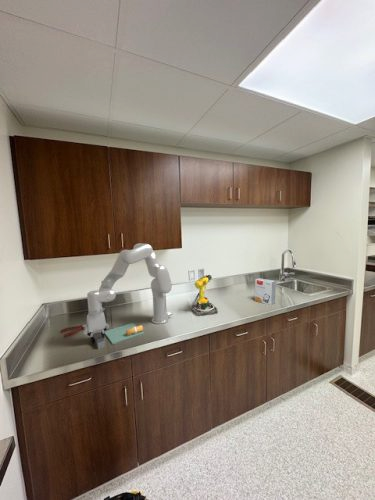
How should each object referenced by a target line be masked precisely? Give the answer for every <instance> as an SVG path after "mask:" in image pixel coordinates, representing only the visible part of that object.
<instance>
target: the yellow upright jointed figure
mask: <svg viewBox="0 0 375 500" xmlns="http://www.w3.org/2000/svg"><path fill="white" fill-rule="evenodd" d="M212 278H213V277H212V275H211V274H208V275H203V277H200V278H199V279H197V280H196V281H195V282H194V287H195V288H196V289H199V292H198V293H197V295H196V297H195V299H194V301H193V303H192V304H191V310H192V311H193V312H194V314H195V315H196V316H208V315H211V314H215V315H216V314H218V313H219V311H218V308H217V307H216V306H215V305H214V304H213V303H211V302H210V301H209V298H208V297H205V294H206V293H205V291H206V286H207V285H208V283H209V282H210V281H211V280H212ZM208 307H211V308H209V309H207V308H208Z"/></svg>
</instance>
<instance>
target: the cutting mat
mask: <svg viewBox="0 0 375 500" xmlns="http://www.w3.org/2000/svg"><path fill="white" fill-rule="evenodd" d="M143 330H144V327H143V325H136V324H135V322H134V323H133V322H131V323H129V324H125V325H122V326H121V325H120V326H117V327H115V328H112V329H111V328H110V329H107V330H106V331H105V333H104V336H106V338H107V339H108V340H109V342H110V343H111V344H112V345H115V344H118V343H122V342H124V341H127V340H130V339H134V338H136V337H140V336H142V335H145V332H144V331H143Z"/></svg>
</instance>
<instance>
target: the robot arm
mask: <svg viewBox="0 0 375 500" xmlns="http://www.w3.org/2000/svg"><path fill="white" fill-rule="evenodd" d="M143 260H144V262H145V264H146V267H147V271H148V274H149V276H150V277H152V278H153V279H152V280H151V282H150V288H151V293H152V308H153V309H152V310H153V317H152V318H151V322H152V323H153V324H156V325H157V324H158V325H159V324H160V325H162V324H166V323H168V322H169V321H170V317H171V316H173V312H167V294H168V293H170V292H171V291H172V286H173V285H172V280H171V276H170V272H169V270H168V268H167V266H165V265H162V264H160V263H159V262H160V261H159V259H158V257H157V255H156V253H155V251H154V250H153V247H152V245H150V244H148V243H136V244H134V245H133V249H122V250H121V251H120V252H119V253H118V256H117V258H116V259H115V262H114V264H113V266H112V268H111V270H110V271H109V272H108V274H107V275H106V276H105V277H104V278H103V280H102V283H101V284H100V286H99V289H95V290H91V291H90V290H89V291H88V293H86V295H87V297H86V298H87V308H88V314H87V315H86V324H87V327H86V328H84V330H83V334H84V335H87V336H89V339H90V342H91V343H92V344H94V337H93V333H96V332H99V331H100V333H101V335H102V336H103V339H104V340H105V331H107V330H109V328H110V325H109V324H108V323H107V321H106V317H105V313H104V310H106V308H105V307H103V303H109V302H113V301H114V300H115V299H116V296H117V294H116V292H115V290H114V289H112V288H113V287H114V285H115V284H116V283H117V281H118V280H120V279H121V278H124V276H125V274H126V272H127V270H128V268H129V266H130V265H133V264H135V263H138V262H140V261H143Z"/></svg>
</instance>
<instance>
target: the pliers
mask: <svg viewBox="0 0 375 500" xmlns="http://www.w3.org/2000/svg"><path fill="white" fill-rule="evenodd" d="M86 327H87V323H86V324H83V325H82V324H80V325H75V326H69V327H65V328H62V329H60V331H59V332H60V333H61V334H62V333H64V334H63V337H64V338H68V337H72V336H74V335H75V334H77V333H79V332H81V331H85V329H86ZM68 331H70V332H68ZM65 332H67V333H65Z"/></svg>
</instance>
